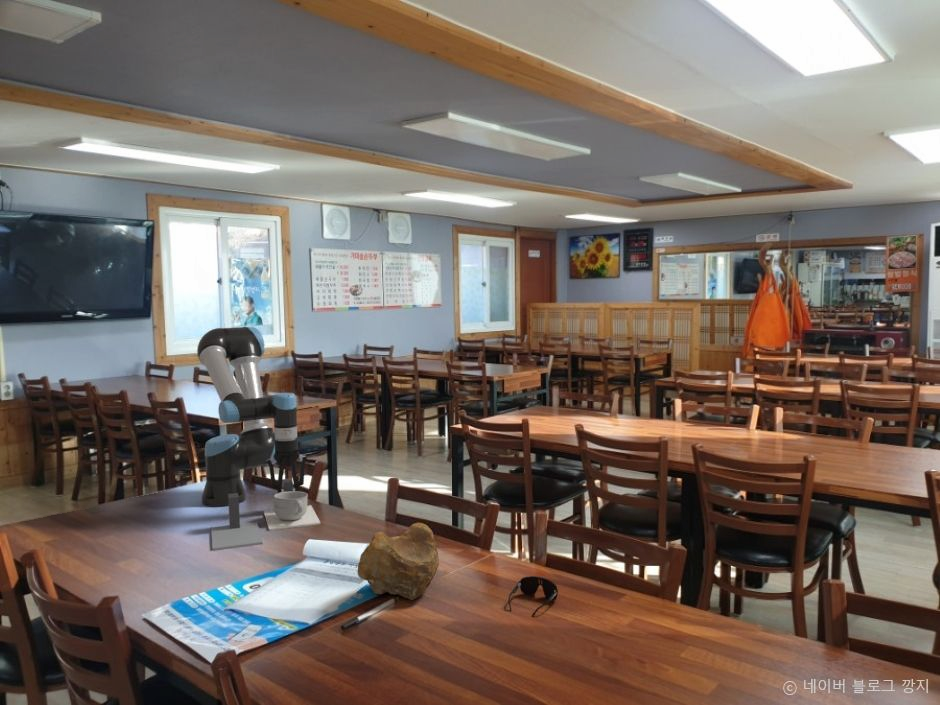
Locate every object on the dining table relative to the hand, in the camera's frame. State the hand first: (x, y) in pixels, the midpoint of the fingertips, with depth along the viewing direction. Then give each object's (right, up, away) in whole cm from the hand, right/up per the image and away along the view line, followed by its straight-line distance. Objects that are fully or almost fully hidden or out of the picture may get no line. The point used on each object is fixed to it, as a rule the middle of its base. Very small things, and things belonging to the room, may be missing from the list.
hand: (288, 506), depth 240 cm
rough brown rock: (+46, -7, -64) cm, 79 cm away
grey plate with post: (+3, -2, -7) cm, 7 cm away
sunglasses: (+77, -8, -73) cm, 106 cm away
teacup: (+4, -2, -10) cm, 11 cm away
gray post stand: (-10, -4, -23) cm, 26 cm away
